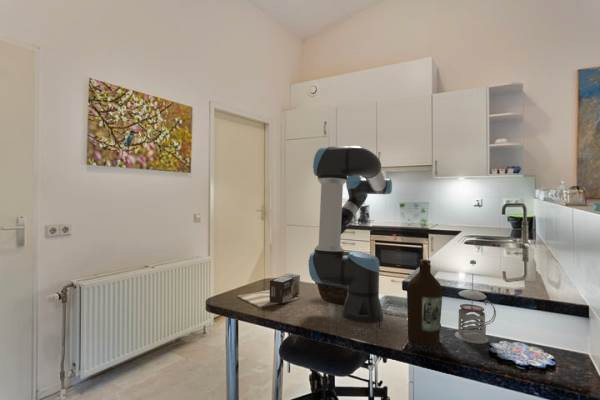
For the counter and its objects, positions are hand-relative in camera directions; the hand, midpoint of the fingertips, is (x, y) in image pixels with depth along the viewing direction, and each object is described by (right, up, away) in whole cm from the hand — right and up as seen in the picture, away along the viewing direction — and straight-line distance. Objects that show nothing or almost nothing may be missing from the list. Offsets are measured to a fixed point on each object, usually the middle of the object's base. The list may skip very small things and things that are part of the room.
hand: (323, 247), depth 165 cm
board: (-25, -20, -15) cm, 36 cm away
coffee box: (-14, -15, -9) cm, 23 cm away
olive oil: (+28, -22, -56) cm, 66 cm away
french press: (+45, -22, -54) cm, 74 cm away
